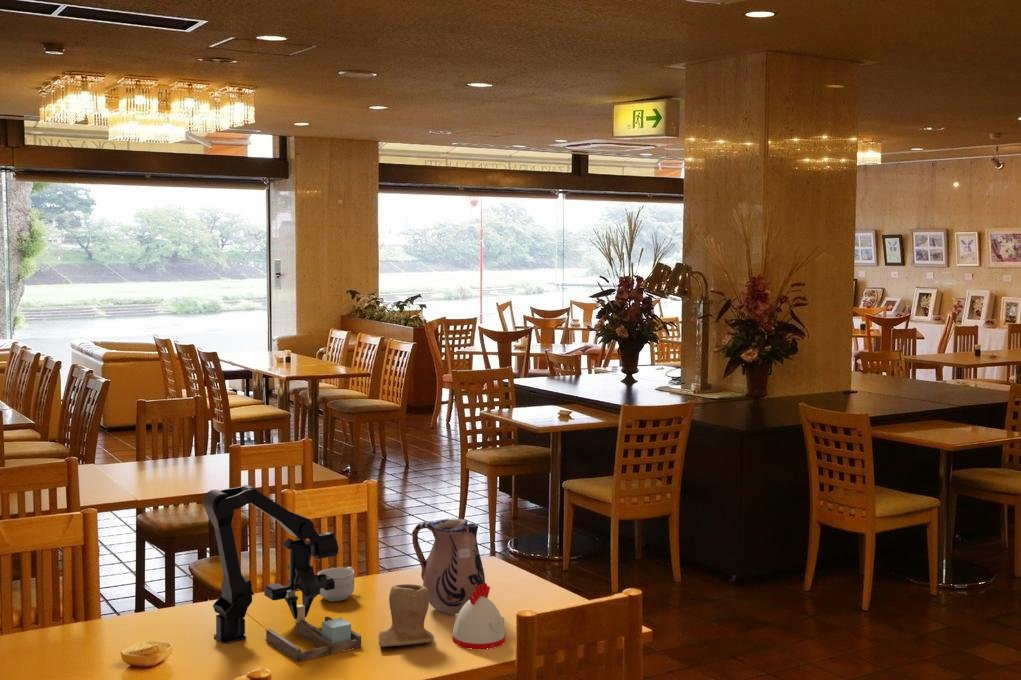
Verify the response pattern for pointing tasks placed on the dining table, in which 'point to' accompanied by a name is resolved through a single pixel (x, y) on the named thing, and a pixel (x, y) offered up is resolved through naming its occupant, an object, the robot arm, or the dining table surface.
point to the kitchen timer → (479, 622)
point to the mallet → (328, 627)
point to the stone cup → (407, 616)
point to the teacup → (339, 583)
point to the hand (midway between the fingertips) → (300, 617)
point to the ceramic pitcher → (450, 563)
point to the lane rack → (313, 638)
